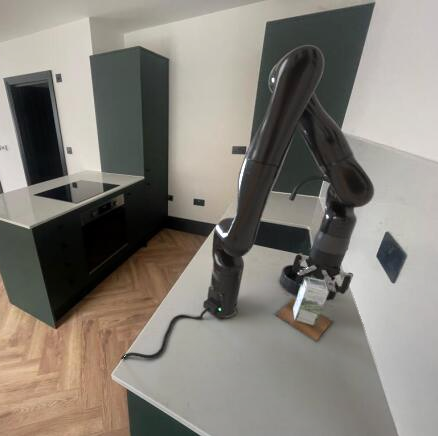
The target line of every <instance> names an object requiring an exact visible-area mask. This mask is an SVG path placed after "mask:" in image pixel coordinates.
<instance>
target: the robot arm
mask: <svg viewBox="0 0 438 436" xmlns="http://www.w3.org/2000/svg"><path fill="white" fill-rule="evenodd" d="M324 68H325V58H324V54H323V53H322V50H321V49H320V48H319V47H317V46H316V45H312V44H304V45H301V46H298V47H296V48H294V49H292V50H291V51H289V52H288V53H286V54H285V55H284V56H283V57H282V58H281V59H279V60H278V61H277V63H276V64H275V65H274V66H273V67H272V69H271V71H270V74H269V77H268V88H269V90H270V92H271V97H270V100H269V103H268V106H267V109H266V112H265V115H264V118H263V120H262V122H261V123H260V126H259V127H258V129H257V130H256V132H255V134H254V136H253V138H252V140H251V141H250V143H249V145H248V148H247V150H246V152H245V155H244V158H243V160H242V163H241V166H240V169H239V172H238V177H237V204H236V205H237V206H236V211H235V214H234V217H226V218H223V219H221V220H220V221H218V222H217V224H216V226H215V228H214V230H213V237H212V249H211V252H212V253H211V256H212V270H211V276H210V285H209V286H208V290H207V298H206V299H205V300H203V304H202V308H204V309H203V310H202V311H201V313H200V315H199V316H191V315H186V314H178V315H176V316H174V317H173V318H172V319H171V320H170V322H169V324H168V327H167V329H166V331H165V333H164V336H163V339H162V343H161V346H160V348H159V349H158V351H157V352H155V353H153V354H143V353H139V352H133V351H132V352H126V353H127V354H126V353H124V354H123V355H122V356H121V357H120V360H122V359H123V358H124V359H126V358H128V357H138V358H143V359H154V358H156V357H158V356H160V355H161V353H162V352H163V350H164V348H165V346H166V342H167V338H168V335H169V333H170V331H171V329H172V326H173V324H174V322H175V321H176V320H178V319H180V318H183V319H184V318H185V319H190V320H191V319H192V320H201V319H202V318H203V317H204V315H205V314H206V313H207V312H208V313H210V314H211V315H212V316H215V317H217V318H218V319H219V320H222V319H228V318H232V317H233V316H235V314H236V312H237V306H238V299H239V295H240V288H241V284H242V279H243V273H244V268H245V262H244V258H243V257H244V256H246V255H247V254H248V253H249V252H250V251H251V250H252V248H253V246H254V245H255V242H256V239H257V235H258V231H259V228H260V224H261V221H262V217H263V215H264V212H265V209H266V207H267V204H268V201H269V199H270V196H271V193H272V191H273V188H274V186H275V184H276V182H277V179H278V177H279V175H280V172H281V170H282V167H283V164H284V163H285V159H286V156H287V154H288V151H289V149H290V147H291V144H292V141H293V138H294V135H295V132H296V129H298V130H299V132H300V134H301V137H302V138H303V140H304V141H305V144H306V145H307V147H308V149H309V151H310V153H311V155H312V157H313V159H314V161H315V163H316V165H317V167H318V169H319V170H320V172H321V173H322V174H323V176H325V177H326V178H327V180H328V182H329V184H328V186H327V189H326V194H325V201H324V202H325V203H324V212H323V216H322V218H321V221H320V225H319V228H318V230H317V232H316V233H315V235H314V236H315V237H314V240H313V243H312V245H311V249H310V252H309V256H307V255H304V252H299V253H297V254H296V255H295V257H294V259H293V264H292V265H293V266H292V270H293V271H295V272H297V277H296V280H295V281H296V283H297V285H300V284H301V283H302V280H303V277H304V275H305V274H306V273H308V272H311V273H312V274H313V275H316V276H319V277H320V278H322V279H324V280H325V283H326V285H328V286H329V288H330V289H328V292H329V293H328V296H327V298H326V301H333V300H334V299H335V298H336V295H337V293H340V294H341V295H344V294H345V293H346V292H347V291H348V290H349V287H350V284H351V282H352V281H353V277H354V273H352V272H346V271H343V270H341V266H342V263H343V261H344V259H345V256H346V254H347V251H348V250H349V247H350V243H351V238H352V235H353V232H354V230H355V228H356V225H357V222H358V218H357V215H356V213H355V208H362V207H364V206H367V205H368V204H370V202H371V201H372V200H373V198H374V196H375V186H374V183H373V181H372V180H371V178H370V176H369V175H368V174H367V172H366V171H365V170H364V168H363V167H362V165H361V164H360V163H359V162H358V160H357V159H356V156H355V154H354V152H353V149H352V147H351V145H350V143H349V141H348V139H347V137H346V135H345V134H344V132H343V130H342V129H341V128H340V127H339V125H338V124H337V123H336V122H335V120H334V119H333V118H332V117H331V115H329V114H328V113H327V111H326V110H325V109H324V108H323V106H322V104H321V102H320V101H319V99H318V97H317V95H316V93H315V91H316V88H317V87H318V85H319V82H320V81H321V78H322V76H323V73H324ZM304 261H305V263H306V265H307V266H304V267H305V268H303V269H301V268H300V266H301V264H302V263H303V262H304ZM337 276H340V279H341V280H342V282H341V285H339V282H338V279H337ZM125 355H126V356H125ZM124 356H125V357H124ZM124 359H123V360H124Z"/></svg>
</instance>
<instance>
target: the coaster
mask: <svg viewBox="0 0 438 436" xmlns="http://www.w3.org/2000/svg"><path fill="white" fill-rule="evenodd" d="M295 300H296V299H291V301H290V302H288V303H287V304H286V305H285V306H284V307H283V308H282V309H281V310H280V311H278V312H277V313H276V314H275V316H276V317H277V318H280V319H281V320H282V321H283V322H286V323H287V324H289V325H290V326H292V327H293V328H295V329H297V330H298V331H300V332H301V333H303V334H305V335H306V336H307V337H309V338H311V339H312V340H314V341H315V342H317V341H318V340H319V339H320V337H321V336H322V335H323V334H324V332H325V331H326V330H327V328H329V326H330V325H331V324H332V323H333V320H331V319H330V318H328V317H326V316H325V315H322V314H321V313H320V315H319V317H318V320H317V322H316V324H315V326H312V325H309V324H305V323H302V322H298V321H295V319H294V312H293V306H294V303H295Z"/></svg>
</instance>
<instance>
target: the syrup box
mask: <svg viewBox="0 0 438 436" xmlns="http://www.w3.org/2000/svg"><path fill="white" fill-rule="evenodd" d="M328 293H329V289H328V284H327V282H326V280H325V279H324V280H320V279H315V278H311V277H306V276H304V277H303V280H302V283H301V286H300V289H299V292H298V295H297V296H296V298H295V299H294V300H295V303H294V306H293V312H294V319H295V321H298V322H302V323H305V324H309V325H312V326H315V324H316V322H317V320H318V317H319V315H320V314H321V312H322V310H323V307H324V306H325V302H326V301H327V300H326V298H327V296H328Z"/></svg>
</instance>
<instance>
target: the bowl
mask: <svg viewBox="0 0 438 436" xmlns="http://www.w3.org/2000/svg"><path fill="white" fill-rule="evenodd" d="M292 266H293V264H288V265H285V266H283V267H282V269H281V272H280V277H279V279H278V280H279V284H280V286H281V287H282V288H283V289H284V290H285V291H286V292H288V293H290V294H292V295H294V296H296V297H297V295H298V292H299V289H300V286H301V284H300V285H297V283H296V281H295V280H296V277H297V272H295V271H293V270H292ZM305 267H306V266H304V265H300V268H301V269H303V268H305ZM304 276H306V277H311V278H315V279H320V280H324V281H325V279H322V278H320V277H319V276H316V275H313V274H312V273H311V272H308V273H306V274H305V275H304Z"/></svg>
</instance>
